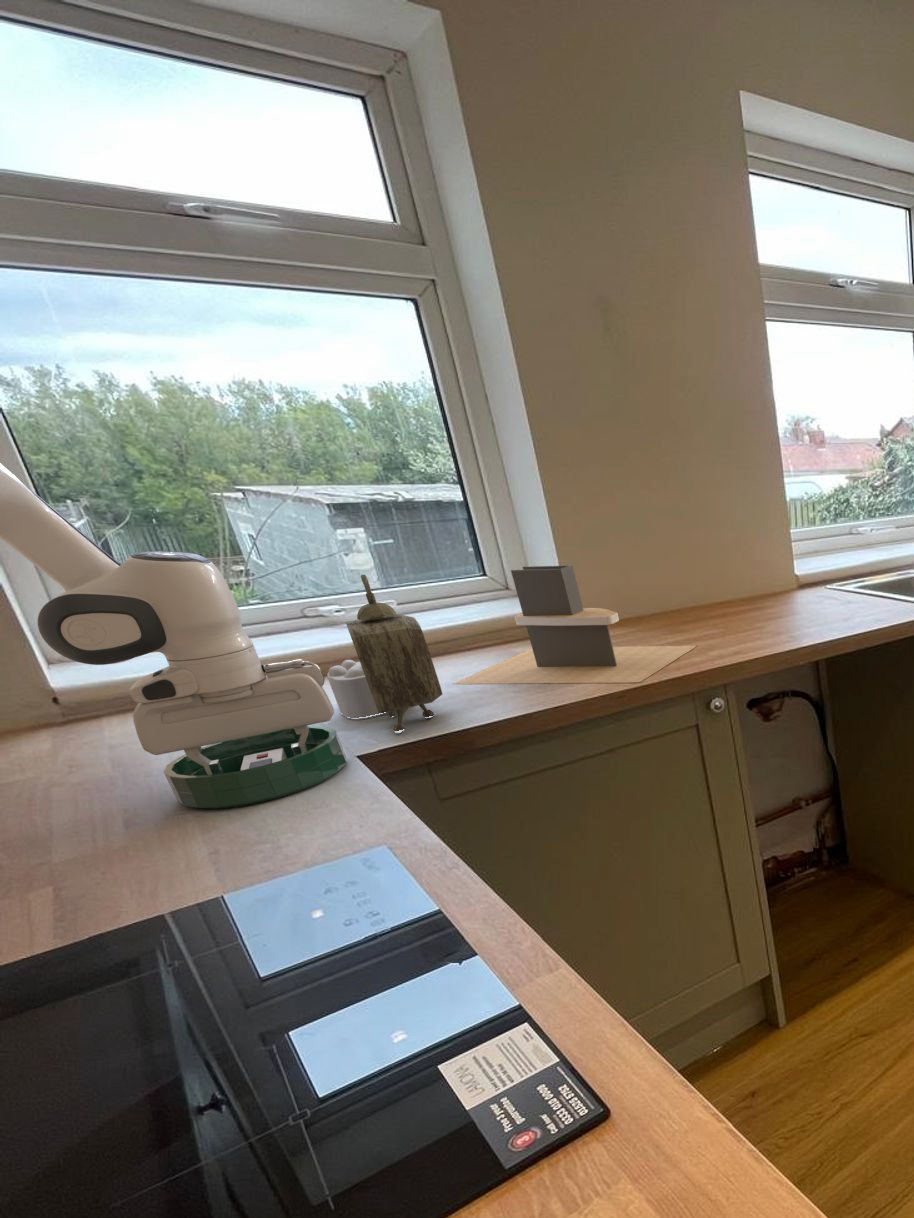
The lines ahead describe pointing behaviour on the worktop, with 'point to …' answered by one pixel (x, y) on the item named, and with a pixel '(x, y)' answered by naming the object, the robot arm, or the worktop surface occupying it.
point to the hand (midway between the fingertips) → (260, 764)
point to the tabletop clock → (393, 659)
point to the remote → (263, 758)
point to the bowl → (256, 769)
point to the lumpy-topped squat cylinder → (352, 690)
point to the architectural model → (569, 638)
